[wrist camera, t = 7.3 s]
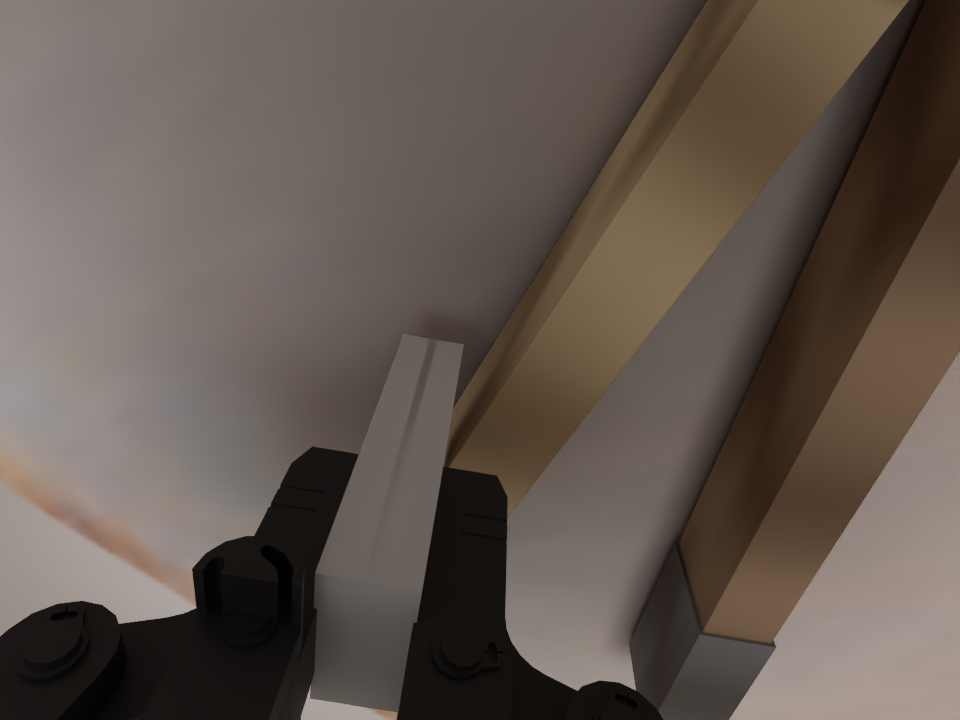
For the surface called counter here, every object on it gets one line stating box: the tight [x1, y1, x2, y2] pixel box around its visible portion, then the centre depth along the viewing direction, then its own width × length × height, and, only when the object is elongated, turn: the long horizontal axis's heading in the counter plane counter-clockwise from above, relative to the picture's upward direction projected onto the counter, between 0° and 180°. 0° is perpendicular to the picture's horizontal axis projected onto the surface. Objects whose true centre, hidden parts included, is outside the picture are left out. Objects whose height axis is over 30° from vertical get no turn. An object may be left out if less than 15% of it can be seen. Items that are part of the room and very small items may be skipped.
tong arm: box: [443, 0, 909, 517], centre depth 13 cm, size 22×2×4 cm, turn 152°
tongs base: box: [629, 0, 960, 720], centre depth 13 cm, size 23×4×4 cm, turn 171°
